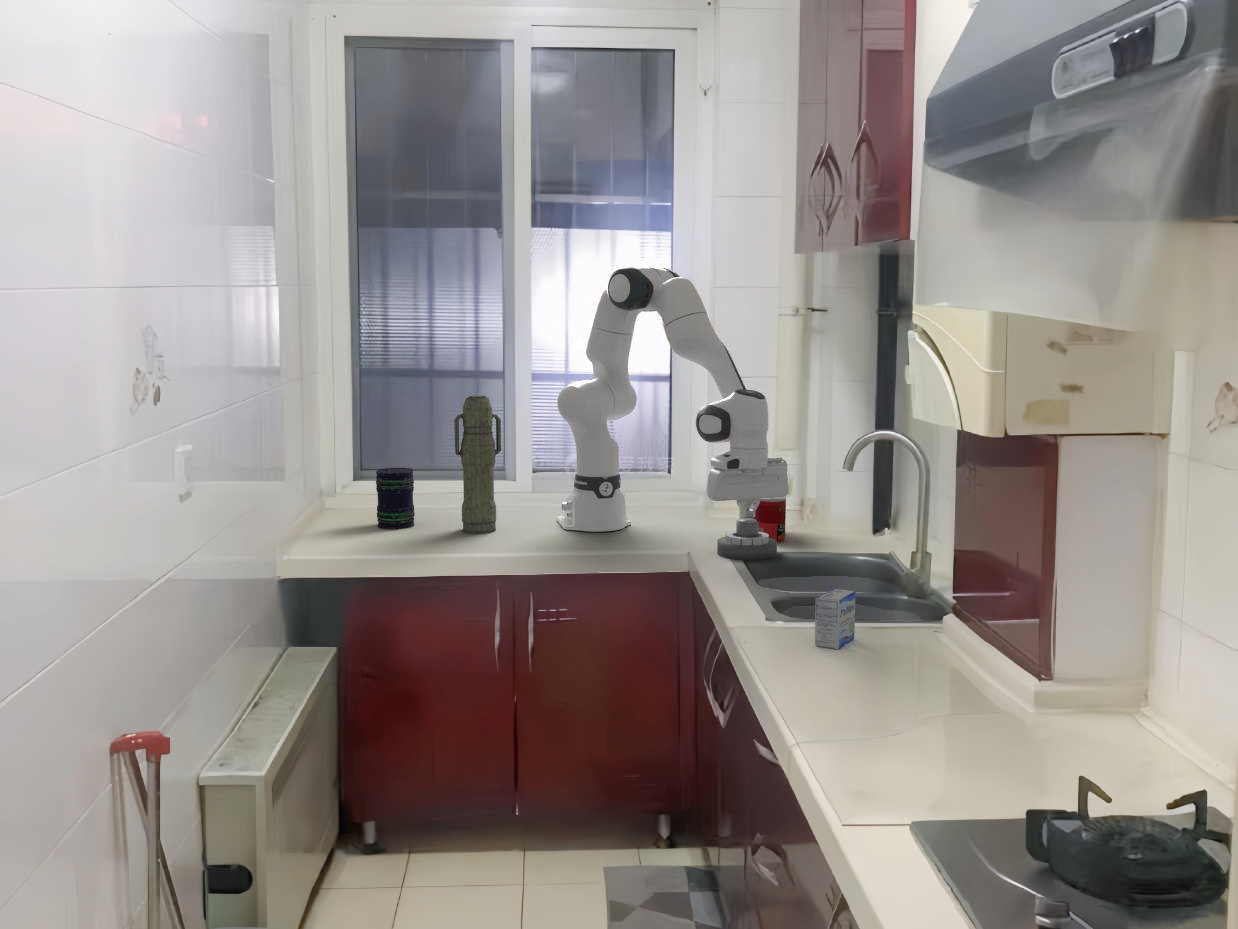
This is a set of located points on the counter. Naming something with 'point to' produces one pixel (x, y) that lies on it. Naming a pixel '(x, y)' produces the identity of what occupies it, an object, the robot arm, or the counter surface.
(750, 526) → the cap
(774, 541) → the grey round peg base
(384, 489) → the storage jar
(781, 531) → the canned food
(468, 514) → the thermos
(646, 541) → the counter surface
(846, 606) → the medicine box
